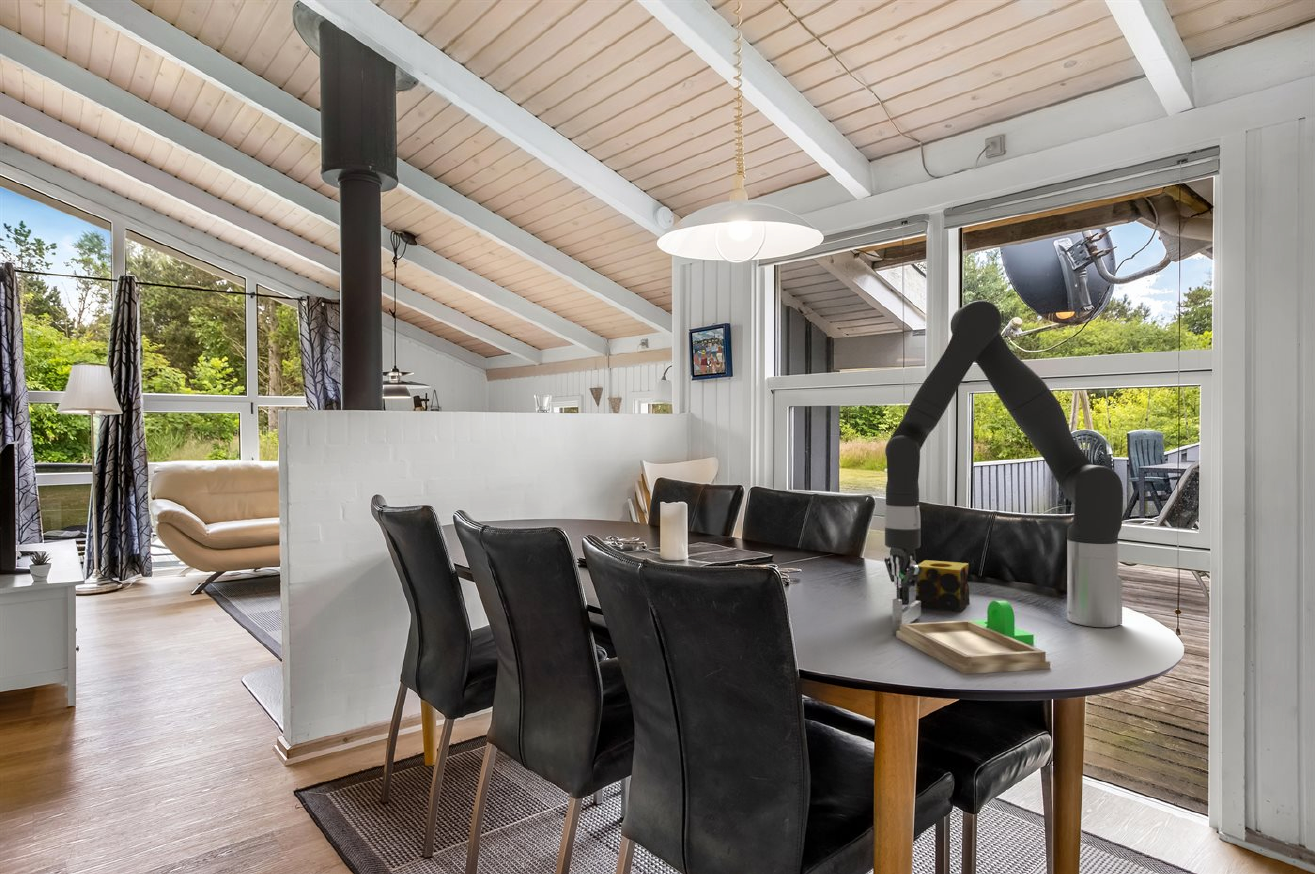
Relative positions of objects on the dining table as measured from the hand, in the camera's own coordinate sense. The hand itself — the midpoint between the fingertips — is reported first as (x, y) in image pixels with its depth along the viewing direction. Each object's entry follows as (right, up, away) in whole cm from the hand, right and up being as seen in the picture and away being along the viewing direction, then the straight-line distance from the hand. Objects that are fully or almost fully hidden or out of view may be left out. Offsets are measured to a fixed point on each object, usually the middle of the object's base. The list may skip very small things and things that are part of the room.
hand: (902, 603), depth 164 cm
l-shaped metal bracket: (-2, -2, -10) cm, 11 cm away
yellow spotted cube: (+12, -3, +8) cm, 14 cm away
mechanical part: (+13, -3, -17) cm, 22 cm away
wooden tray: (+3, -3, -28) cm, 28 cm away
